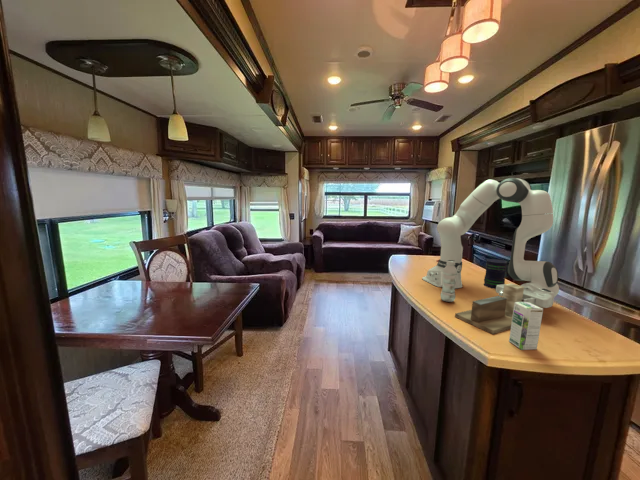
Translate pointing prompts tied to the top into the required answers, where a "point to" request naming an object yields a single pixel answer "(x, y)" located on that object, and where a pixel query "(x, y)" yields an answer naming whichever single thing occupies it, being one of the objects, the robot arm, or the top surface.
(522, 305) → the syrup box
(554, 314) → the top surface
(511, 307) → the ash post
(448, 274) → the plastic bottle
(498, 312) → the ridge
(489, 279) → the storage jar
